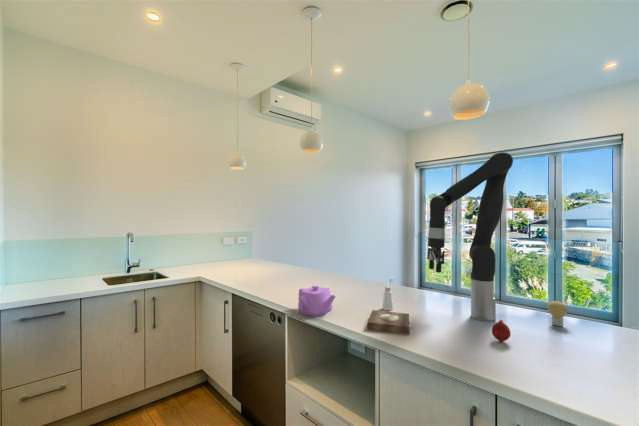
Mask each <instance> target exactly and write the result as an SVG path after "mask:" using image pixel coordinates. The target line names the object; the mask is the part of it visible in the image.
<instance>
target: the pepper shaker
mask: <svg viewBox="0 0 639 426" xmlns="http://www.w3.org/2000/svg"><path fill="white" fill-rule="evenodd" d="M391 288H392V287H391V286H388V285H386V286H384V291H383V301H382V310H384V311H387V312H391V311H393V310H394V302H393V293H392V291H391Z"/></svg>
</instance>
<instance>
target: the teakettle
mask: <svg viewBox="0 0 639 426" xmlns="http://www.w3.org/2000/svg"><path fill="white" fill-rule="evenodd" d="M335 298H336V295H333V294H332V293H331V289H330V287H320V286H319V285H312V287H311V286H310V287H309V288H299V289H298V302H297V303H298V305H297V308H298V313H299V314H301V315H305V316H310V317H313V318H317V317H318V318H319V317H322V316H324V315H326V314H327V313H330V312H331V311H332V309H333V302H334V300H335Z"/></svg>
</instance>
